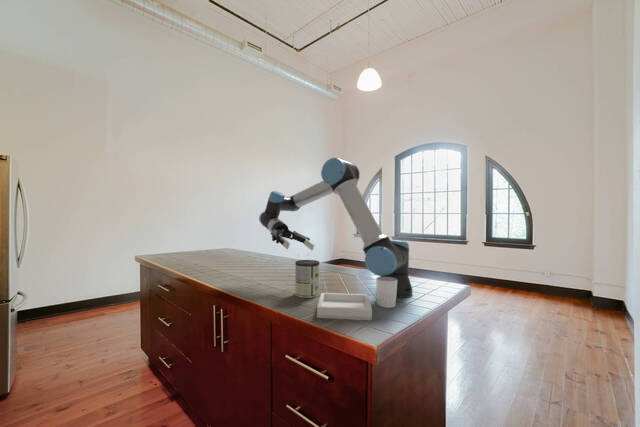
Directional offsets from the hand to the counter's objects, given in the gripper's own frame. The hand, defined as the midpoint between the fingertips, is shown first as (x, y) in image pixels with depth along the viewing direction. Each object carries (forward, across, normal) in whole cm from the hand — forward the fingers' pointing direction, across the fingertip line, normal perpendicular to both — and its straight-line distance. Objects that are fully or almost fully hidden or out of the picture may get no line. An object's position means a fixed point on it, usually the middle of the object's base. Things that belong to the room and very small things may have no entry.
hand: (301, 246), depth 126 cm
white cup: (+39, -17, -6) cm, 43 cm away
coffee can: (+11, -2, -17) cm, 21 cm away
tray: (+34, 0, -9) cm, 35 cm away
